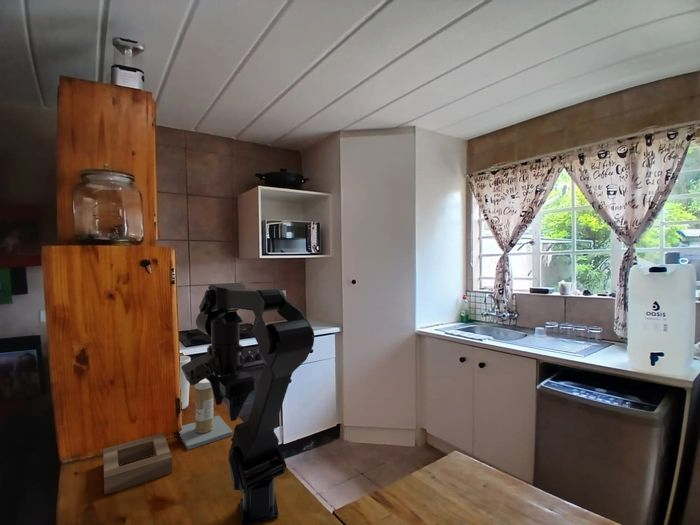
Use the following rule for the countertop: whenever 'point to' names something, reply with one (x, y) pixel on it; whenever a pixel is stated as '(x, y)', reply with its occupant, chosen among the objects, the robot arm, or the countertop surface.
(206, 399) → the sprinkles bottle
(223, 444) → the countertop surface
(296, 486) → the countertop surface
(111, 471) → the bottle holder
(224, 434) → the slate mat
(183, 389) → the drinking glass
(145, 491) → the countertop surface
